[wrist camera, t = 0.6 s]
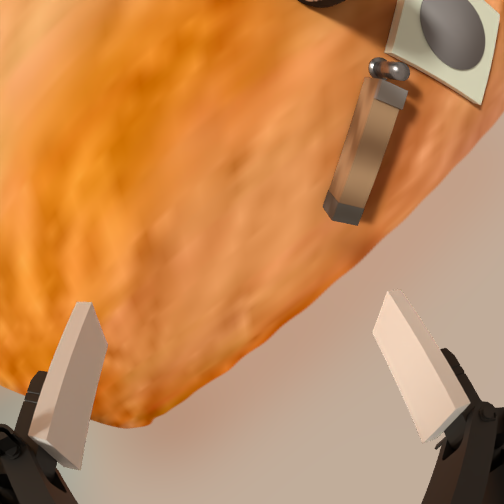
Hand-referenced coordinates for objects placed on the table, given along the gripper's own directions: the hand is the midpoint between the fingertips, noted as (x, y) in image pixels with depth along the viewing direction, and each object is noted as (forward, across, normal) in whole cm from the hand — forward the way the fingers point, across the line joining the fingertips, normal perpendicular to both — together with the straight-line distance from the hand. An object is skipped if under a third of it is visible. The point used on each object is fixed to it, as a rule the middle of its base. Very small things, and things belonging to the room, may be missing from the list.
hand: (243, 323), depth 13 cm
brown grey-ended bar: (+21, +13, +3) cm, 25 cm away
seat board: (+21, +24, +19) cm, 37 cm away
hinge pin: (+21, +15, +12) cm, 29 cm away
